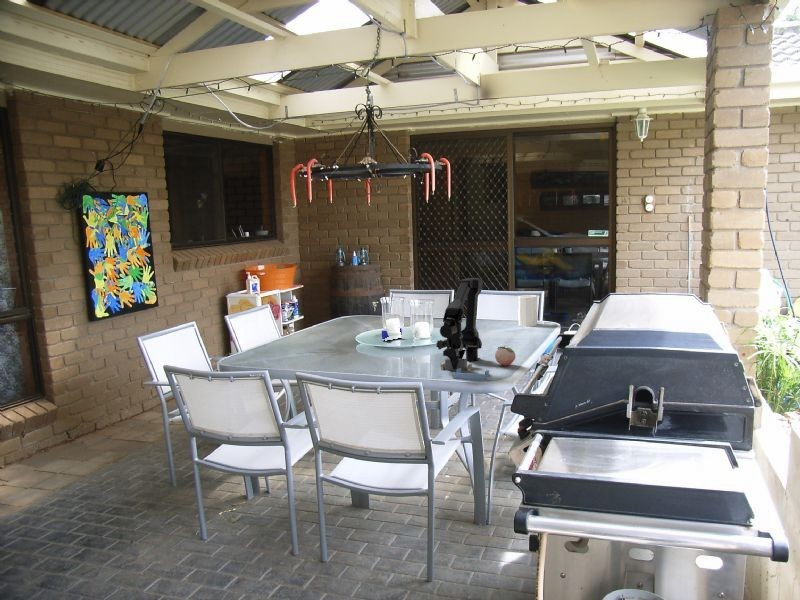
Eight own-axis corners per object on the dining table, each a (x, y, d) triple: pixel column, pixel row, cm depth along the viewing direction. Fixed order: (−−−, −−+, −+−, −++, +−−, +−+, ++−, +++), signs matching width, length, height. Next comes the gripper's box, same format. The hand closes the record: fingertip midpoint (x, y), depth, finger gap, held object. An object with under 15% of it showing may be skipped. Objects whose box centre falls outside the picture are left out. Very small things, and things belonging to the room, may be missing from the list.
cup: (538, 324, 383) (538, 295, 380) (535, 328, 372) (535, 297, 370) (520, 324, 387) (519, 294, 384) (517, 327, 376) (516, 297, 374)
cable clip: (397, 337, 362) (396, 327, 361) (402, 338, 359) (401, 328, 358) (380, 340, 355) (380, 330, 354) (385, 341, 351) (384, 331, 351)
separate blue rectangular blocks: (458, 373, 274) (458, 368, 274) (489, 375, 269) (489, 369, 268) (452, 378, 266) (452, 372, 266) (484, 380, 261) (484, 374, 261)
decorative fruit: (491, 367, 283) (490, 345, 282) (501, 363, 289) (500, 342, 288) (509, 370, 277) (508, 348, 275) (518, 366, 283) (518, 344, 281)
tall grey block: (448, 368, 285) (447, 357, 284) (467, 369, 281) (466, 358, 281) (445, 370, 281) (445, 359, 280) (464, 371, 278) (464, 360, 277)
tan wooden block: (442, 368, 285) (442, 362, 285) (471, 369, 280) (471, 364, 280) (440, 369, 282) (440, 364, 282) (470, 371, 277) (469, 365, 277)
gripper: (444, 329, 291) (445, 361, 293) (431, 337, 274) (432, 371, 276) (467, 330, 286) (468, 363, 288) (455, 337, 269) (456, 373, 271)
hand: (456, 367), depth 281 cm, fingers open, 5 cm apart
